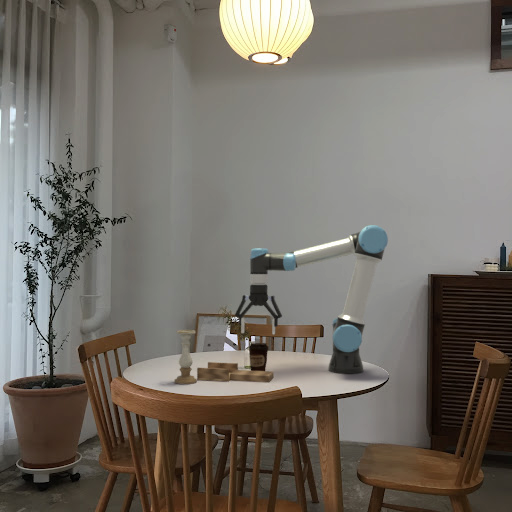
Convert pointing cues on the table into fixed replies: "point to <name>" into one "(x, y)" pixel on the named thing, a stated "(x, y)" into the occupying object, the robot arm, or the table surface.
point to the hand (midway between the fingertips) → (258, 333)
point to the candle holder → (185, 359)
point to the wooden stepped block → (232, 373)
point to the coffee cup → (258, 356)
